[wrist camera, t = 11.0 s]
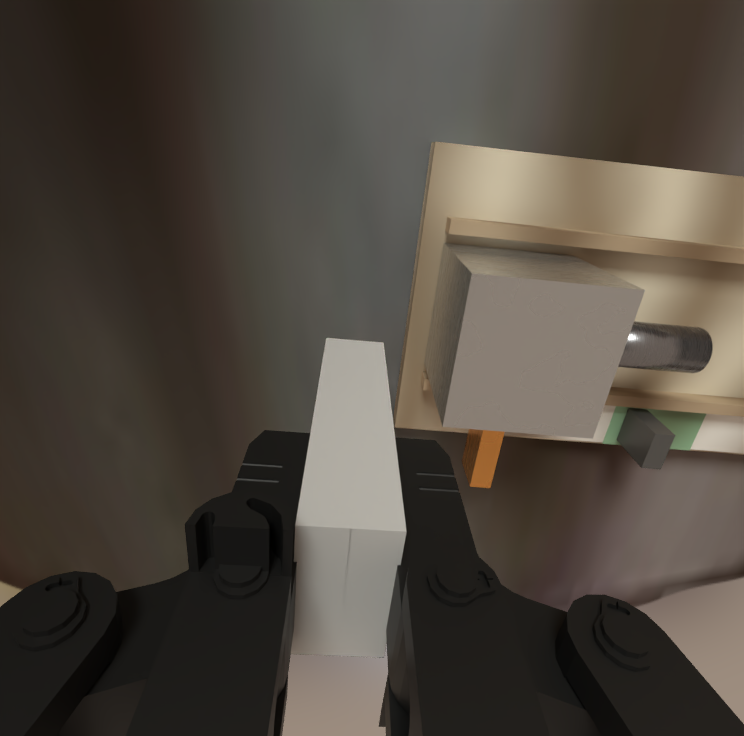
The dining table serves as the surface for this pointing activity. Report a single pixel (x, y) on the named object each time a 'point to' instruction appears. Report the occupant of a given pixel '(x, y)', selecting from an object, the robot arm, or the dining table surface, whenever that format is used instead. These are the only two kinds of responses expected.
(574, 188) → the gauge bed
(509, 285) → the cube with metal rod
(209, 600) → the robot arm
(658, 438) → the dark grey square block
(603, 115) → the dining table surface
